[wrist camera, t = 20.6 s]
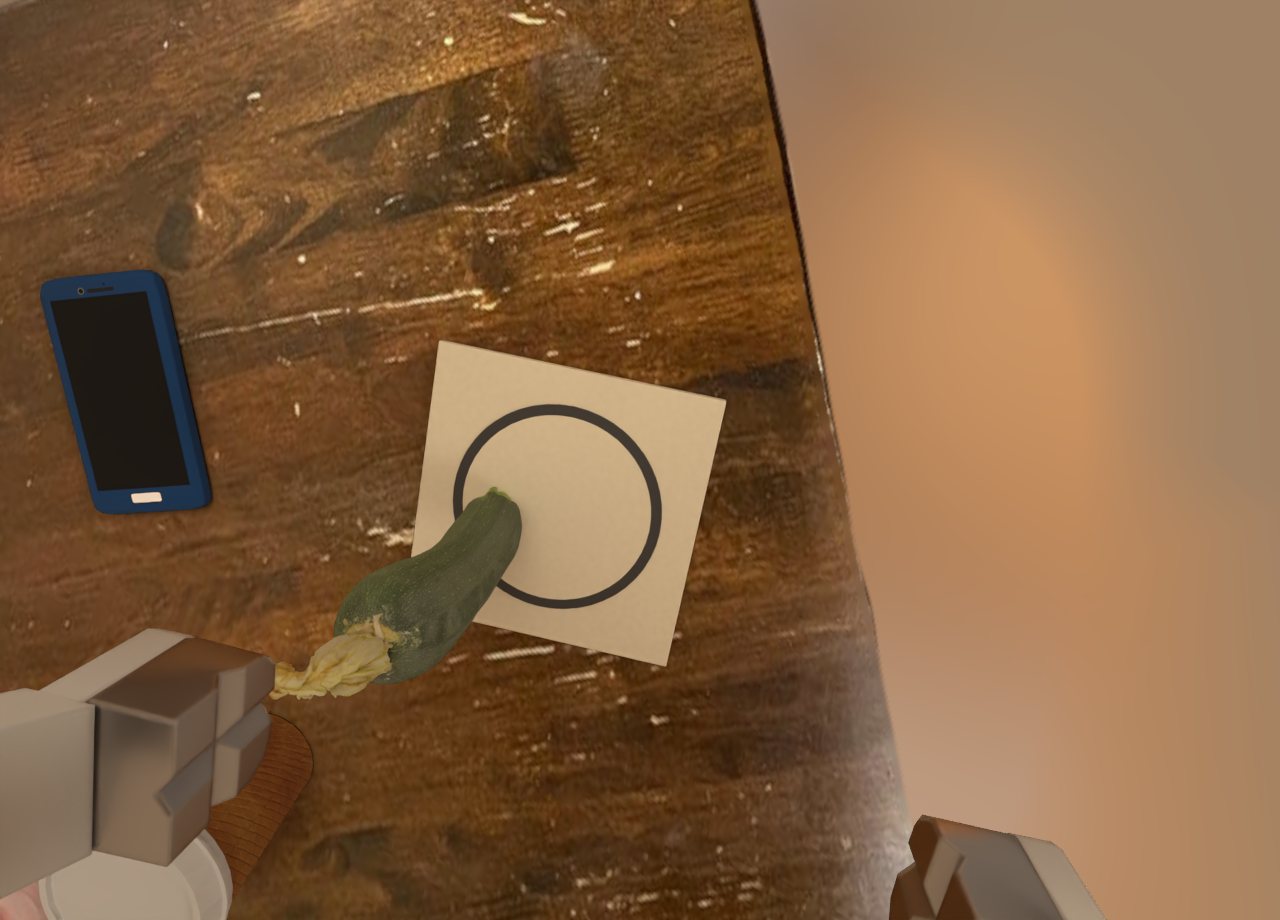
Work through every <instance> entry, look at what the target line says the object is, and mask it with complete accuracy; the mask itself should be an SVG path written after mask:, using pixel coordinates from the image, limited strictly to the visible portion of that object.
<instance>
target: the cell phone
mask: <svg viewBox="0 0 1280 920" xmlns="http://www.w3.org/2000/svg"><path fill="white" fill-rule="evenodd" d="M40 298H41V302H42V306H43V310H44V314H45V318H46V322H47V326H48V330H49V334H50V337H51V341H52V345H53V349H54V353H55V357H56V361H57V365H58V369H59V372H60V376H61V380H62V384H63V388H64V392H65V396H66V400H67V403H68V407H69V411H70V415H71V419H72V423H73V427H74V431H75V434H76V438H77V442H78V446H79V450H80V454H81V458H82V462H83V465H84V469H85V473H86V477H87V481H88V485H89V489H90V493H91V497H92V500H93V503H94V506H95V508H96V509H97V510H98V511H100V512H102V513H106V514H125V513H141V512H157V511H173V510H189V509H196V508H200V507H203V506H205V505H207V504H208V503H209V502H210V500H211V492H210V485H209V480H208V476H207V471H206V467H205V462H204V458H203V453H202V449H201V444H200V439H199V435H198V430H197V426H196V421H195V417H194V412H193V408H192V403H191V399H190V394H189V390H188V385H187V381H186V376H185V372H184V367H183V363H182V358H181V353H180V349H179V344H178V340H177V335H176V331H175V326H174V322H173V317H172V313H171V308H170V304H169V299H168V295H167V291H166V288H165V284H164V282H163V280H162V279H161V277H160V276H159V274H157V273H155V272H153V271H150V270H132V271H123V272H113V273H104V274H95V275H86V276H77V277H68V278H59V279H54V280H50V281H46V282H45V283H43V284H42V286H41V292H40Z"/></svg>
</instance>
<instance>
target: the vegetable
mask: <svg viewBox="0 0 1280 920" xmlns="http://www.w3.org/2000/svg"><path fill="white" fill-rule="evenodd" d="M521 532H522V520H521V514H520V509H519V507H518V505H517V504H516V503H515V502H513V501H512V500H511V498H510V497H509V496H508V495H507V494H506V493H505V492H502V491H501V492H498V491H497V487H492V488H490V489H489V491H488V492H487V493H486V494H485V495H484V496H482V497H478V498H475V499H473V500H472V501H471V502H470V503H468V505H467V506H466V508H465V509H464V511H463V512H462V513H461V515H460V516H459V517H458V518H457V519H456V520H455V522H454V523H453V524H452V526H451V527H450V528H449V529H448V530H447V532H446V533H445V534H444V536H443V537H442V539H441V540H440V541H439V542H438V543H437V544H436V545H435V546H433V547H432V548H431V549H429V550H427V551H425V552H423V553H421V554H418V555H416V556H414V557H411V558H407V559H403V560H400V561H398V562H396V563H393V564H391V565H387V566H385V567H382V568H380V569H378V570H376V571H374V572H372V573H371V574H369V575H368V576H366V577H365V578H364V579H362V580H361V581H360V582H359V583H358V584H357V585H356V586H355V587H354V588H353V589H352V590H351V591H350V593H349V594H348V595H347V596H346V598H345V599H344V601H343V603H342V605H341V607H340V609H339V611H338V614H337V617H336V621H335V624H334V636H335V637H334V638H333V639H332V640H331V641H329V642H327V643H326V644H324V645H323V646H321V647H320V648H319V649H318V650H317V651H316V652H315V655H314V656H312V657H311V660H310V665H309V666H308V668H307V669H306V670H305V671H304V672H298V671H294V670H295V669H294V668H293V667H291V666H292V664H290V663H287V662H285V661H281V662H279V663H277V664H275V665H276V667H275V689H274V690H273V691H271V692H270V693H269V695H270V696H271V698H272V699H279V698H280V697H283V696H285V695H286V694H291V695H297V698H298V699H300V698H301V697H302V698H304V699H307V698H309V699H311V698H312V697H313V695H317V696H323V695H325V694H326V693H327V690H328V691H330V692H331V694H332V695H333V696H334V697H335V698H336V697H337V695H342V696H350V695H353V694H355V693H357V692H359V691H361V690H362V689H364V688H365V687H366V685H367V684H368V682H371V683H376V684H395V683H399V682H402V681H406V680H409V679H412V678H416V677H417V676H419V675H421V674H423V673H425V672H427V671H428V670H430V669H431V668H432V667H434V666H435V665H436V664H437V663H438V662H439V661H441V660H442V659H443V657H444V656H445V655H446V654H447V653H448V652H449V651H450V649H451V648H452V647H453V646H454V644H455V643H456V642H457V641H458V639H459V638H460V637H461V636H462V634H463V633H464V632H465V631H466V629H467V628H468V626H469V625H470V624H471V622H472V621H473V619H474V617H475V616H476V614H477V613H478V612H479V610H480V609H481V608H482V606H483V605H484V604H485V603H486V601H487V600H488V599H489V597H490V595H491V594H492V592H493V590H494V589H495V587H496V585H497V584H498V582H499V580H500V579H501V577H502V576H503V574H504V573H505V571H506V570H507V568H508V566H509V565H510V563H511V562H512V560H513V558H514V557H515V555H516V552H517V550H518V547H519V543H520V538H521Z"/></svg>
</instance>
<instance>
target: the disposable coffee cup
mask: <svg viewBox="0 0 1280 920" xmlns="http://www.w3.org/2000/svg"><path fill="white" fill-rule="evenodd" d="M269 716H270V717H271V719H272V723H271V733H270V739H269V743H268V746H267V750H266V753H265V756H264V758H263V760H262V762H261V764H260V765H259V767H258V769H257V771H256V773H255V774H254V776H253V778H252V780H251V781H250V782H249V783H248V784H247V785H246V786H245V787H244V788H243V790H242V791H241V792H240V793H239V794H238V795H237V796H236V797H235V798H232V799H230V800H227V801H225V802H222V803H220V804H217V805H215V806H212V807H211V811H210V824H209V825H208V826H207V827H206V828H205V829H204V830H203V831H202V832H201V833H200V834H199V835H198V836H197V837H196V838H195V839H194V840H193V841H192V842H191V843H190V844H189V845H188V846H187V847H186V848H185V849H184V851H183V852H182V853H181V854H180V855H179V856H178V857H177V858H176V859H175V860H174V861H173V862H172V863H171V864H170V865H169V866H168V867H163V866H159V865H155V864H150V863H146V862H141V861H137V860H132V859H128V858H123V857H119V856H115V855H110V854H106V853H101V852H97V851H92V854H91V855H90V856H88V857H86V858H84V859H82V860H80V861H78V862H76V863H74V864H72V865H70V866H68V867H66V868H64V869H62V870H60V871H58V872H55V873H53V874H51V875H49V876H47V877H45V878H43V879H41V880H39V882H38V885H39V895H40V900H41V903H42V906H43V910H44V912H45V914H46V916H47V918H48V920H226V919H227V916H228V911H229V908H230V905H231V903H232V900H233V899H234V895H236V894H237V892H238V891H239V889H240V887H241V886H240V885H242V884H243V883H244V881H245V880H246V878H247V875H249V874H250V872H251V870H252V868H253V866H254V865H255V864H256V862H257V861H258V860H259V859H258V857H260V856H261V855H262V853H263V851H264V849H265V848H266V846H267V845H268V843H269V840H271V839H272V837H273V835H274V834H275V833H274V832H276V831H277V829H278V828H279V826H280V824H281V823H282V821H283V819H284V818H285V816H286V815H287V813H288V812H289V810H290V808H291V807H292V805H293V804H294V801H296V799H297V797H298V796H299V794H300V793H301V791H302V790H303V787H304V786H305V785H306V784H307V782H308V780H309V778H310V776H311V773H312V769H313V760H312V753H311V750H310V747H309V745H308V743H307V741H306V740H305V738H304V736H303V735H302V734H301V733H300V731H299V730H298V729H296V728H295V727H294V726H293V725H292V724H291V723H289V722H287V721H286V720H284V719H282V718H280V717H278V716H276V715H272V714H269Z"/></svg>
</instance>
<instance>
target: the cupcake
mask: <svg viewBox="0 0 1280 920" xmlns="http://www.w3.org/2000/svg"><path fill="white" fill-rule="evenodd" d="M38 882H39V881H37V882H35V883H33V884H31V885H29V886H27V887H25V888H23V889H21V890H19V891H16V892H14V893H12V894H10V895H8V896H6V897H4V898H2V899H0V920H48V918H47V916H46V914H45V912H44V910H43V906H42V903H41V900H40V895H39V885H38Z"/></svg>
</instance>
